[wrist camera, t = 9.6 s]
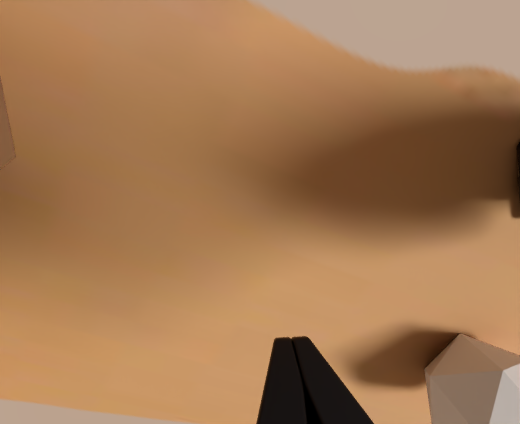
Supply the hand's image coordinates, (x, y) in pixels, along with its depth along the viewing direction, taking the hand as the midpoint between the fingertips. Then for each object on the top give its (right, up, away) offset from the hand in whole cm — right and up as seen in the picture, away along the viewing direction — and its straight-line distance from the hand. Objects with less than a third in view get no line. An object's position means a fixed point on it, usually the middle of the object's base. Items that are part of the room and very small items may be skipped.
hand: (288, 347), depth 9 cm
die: (+17, -9, +23) cm, 30 cm away
